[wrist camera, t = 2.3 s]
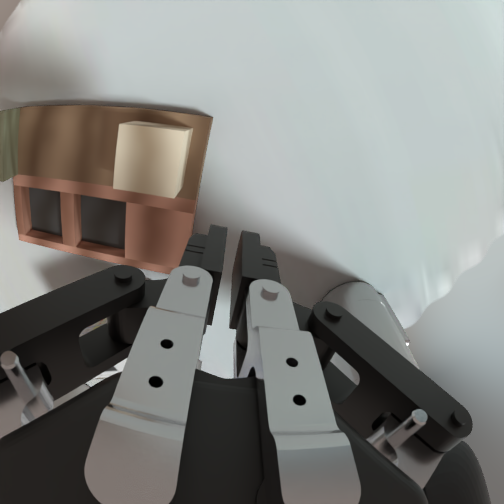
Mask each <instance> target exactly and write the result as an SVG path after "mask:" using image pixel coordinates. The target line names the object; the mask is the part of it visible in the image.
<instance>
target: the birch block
mask: <svg viewBox="0 0 504 504" xmlns="http://www.w3.org/2000/svg"><path fill="white" fill-rule="evenodd" d="M192 131H193V128H189V127H183V126H175V125H168V124H160V123H151V122H142V121H132V122H126V123H121V124H119V130H118V138H117V147H116V156H115V167H114V181H113V189H119V190H125V191H132V192H138V193H144V194H150V195H156V196H162V197H168V198H173V199H174V198H175V197H176V195H177V194H178V193H179V191H180V190H181V188H182V187H183V183H184V177H185V170H186V164H187V158H188V153H189V147H190V142H191V136H192Z"/></svg>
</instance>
